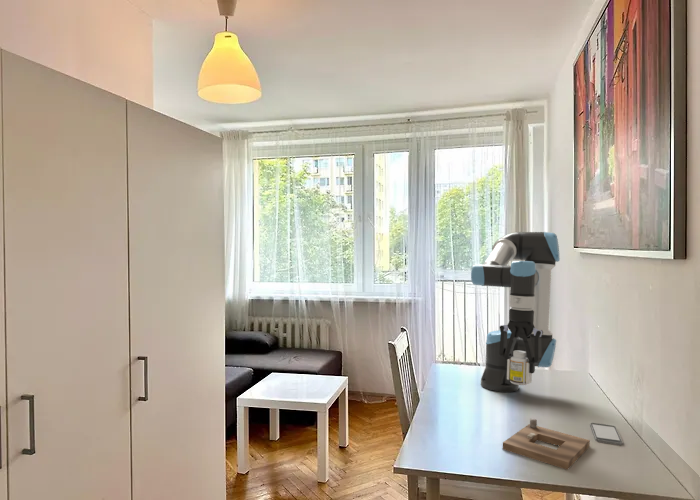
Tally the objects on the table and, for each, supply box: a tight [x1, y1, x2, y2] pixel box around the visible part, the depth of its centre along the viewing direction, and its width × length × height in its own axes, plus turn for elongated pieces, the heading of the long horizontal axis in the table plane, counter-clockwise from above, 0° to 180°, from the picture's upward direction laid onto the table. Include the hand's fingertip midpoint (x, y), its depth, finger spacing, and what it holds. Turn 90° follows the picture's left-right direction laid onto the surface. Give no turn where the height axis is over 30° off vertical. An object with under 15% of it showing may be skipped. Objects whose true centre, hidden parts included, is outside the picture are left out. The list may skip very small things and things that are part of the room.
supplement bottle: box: [510, 350, 529, 386], centre depth 156 cm, size 6×6×10 cm
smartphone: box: [589, 422, 624, 446], centre depth 154 cm, size 7×1×15 cm
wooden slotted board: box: [502, 418, 591, 471], centre depth 142 cm, size 20×18×4 cm
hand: (519, 380), depth 157 cm, fingers closed on supplement bottle, 6 cm apart
